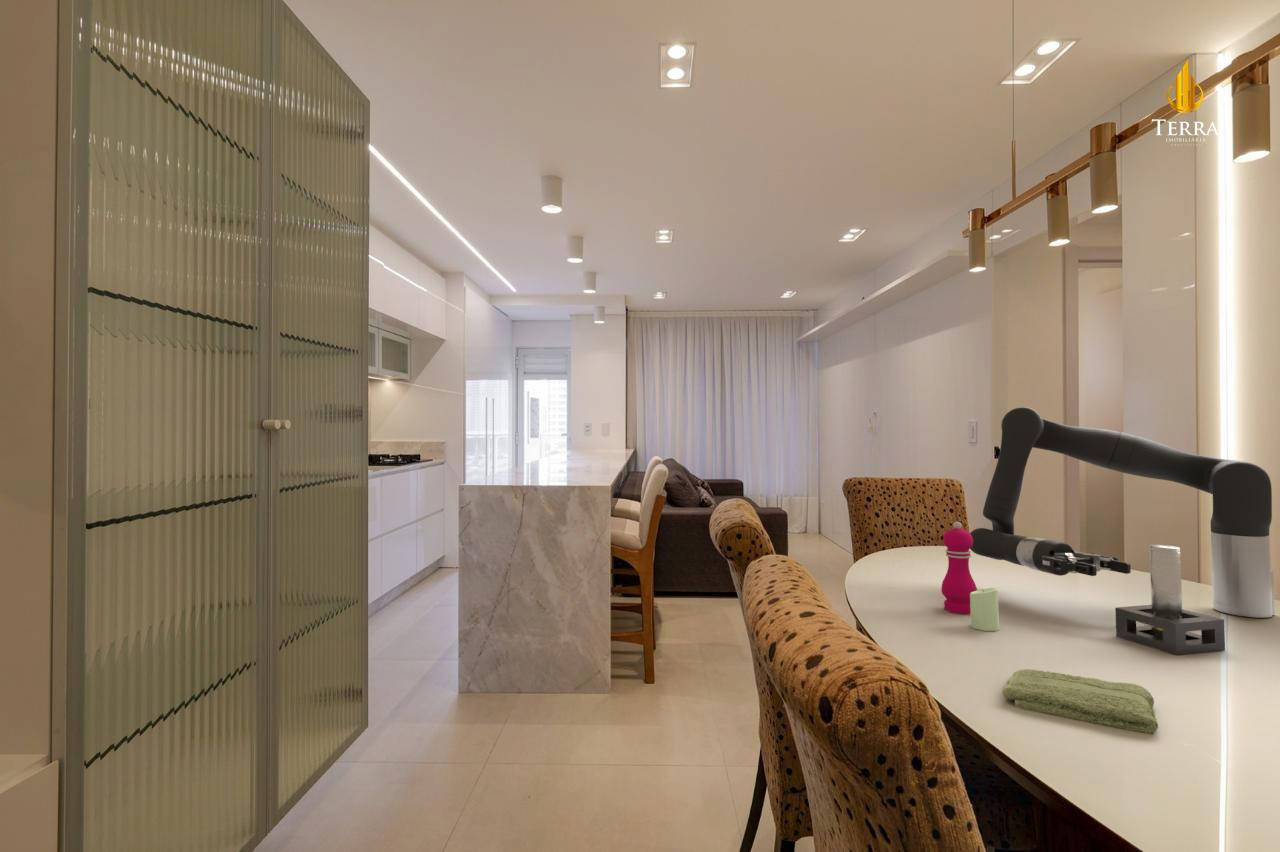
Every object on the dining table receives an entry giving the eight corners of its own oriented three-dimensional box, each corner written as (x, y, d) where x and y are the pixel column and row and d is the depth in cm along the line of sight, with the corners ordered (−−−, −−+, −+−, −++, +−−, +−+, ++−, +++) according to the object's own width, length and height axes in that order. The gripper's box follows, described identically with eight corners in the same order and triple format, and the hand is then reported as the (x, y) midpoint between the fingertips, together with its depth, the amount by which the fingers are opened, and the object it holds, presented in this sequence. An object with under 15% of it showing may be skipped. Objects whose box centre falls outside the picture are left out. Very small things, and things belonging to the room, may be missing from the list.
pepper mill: (969, 606, 140) (967, 519, 141) (983, 615, 133) (981, 523, 134) (936, 605, 141) (934, 519, 141) (949, 614, 134) (947, 523, 134)
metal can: (1164, 638, 117) (1161, 544, 117) (1190, 645, 112) (1187, 548, 113) (1145, 639, 116) (1142, 545, 116) (1170, 647, 111) (1167, 549, 112)
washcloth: (1011, 679, 99) (1011, 659, 99) (1153, 706, 88) (1152, 684, 88) (1001, 708, 88) (1000, 685, 89) (1160, 743, 78) (1159, 718, 78)
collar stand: (1161, 631, 121) (1160, 603, 121) (1224, 650, 110) (1223, 619, 110) (1116, 635, 118) (1115, 607, 118) (1176, 655, 108) (1175, 624, 108)
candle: (967, 628, 124) (966, 587, 125) (974, 622, 128) (973, 583, 128) (995, 633, 121) (994, 591, 121) (1001, 627, 125) (1000, 587, 125)
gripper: (1018, 540, 139) (1083, 553, 123) (1069, 537, 142) (1139, 549, 126) (1019, 573, 139) (1084, 590, 123) (1070, 570, 142) (1141, 586, 126)
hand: (1112, 569), depth 125 cm, fingers open, 8 cm apart
